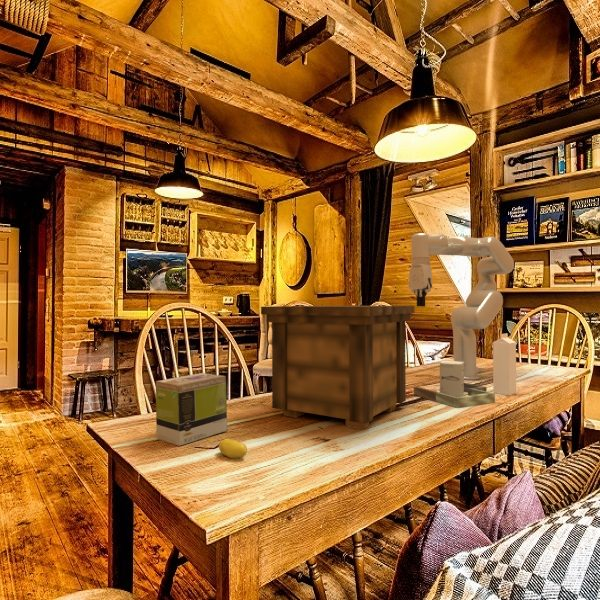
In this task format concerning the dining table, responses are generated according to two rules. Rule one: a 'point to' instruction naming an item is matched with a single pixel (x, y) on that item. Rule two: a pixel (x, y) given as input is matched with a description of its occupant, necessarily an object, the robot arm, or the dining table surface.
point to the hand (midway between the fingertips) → (421, 306)
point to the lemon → (232, 448)
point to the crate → (338, 360)
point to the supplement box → (452, 378)
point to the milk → (504, 366)
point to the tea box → (190, 407)
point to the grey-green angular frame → (475, 397)
